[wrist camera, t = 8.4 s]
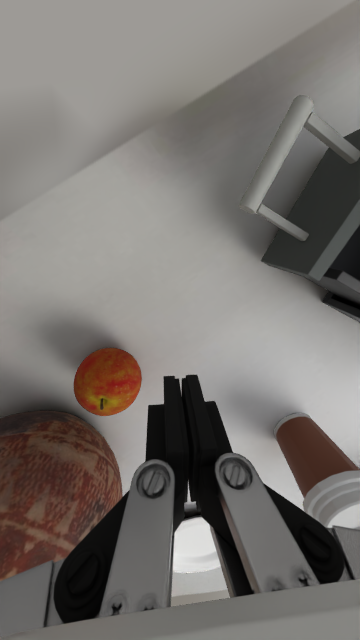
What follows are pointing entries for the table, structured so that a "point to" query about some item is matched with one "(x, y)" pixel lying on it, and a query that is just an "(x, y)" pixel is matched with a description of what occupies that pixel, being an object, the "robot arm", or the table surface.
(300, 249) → the grey drawer
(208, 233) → the table surface
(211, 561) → the plate
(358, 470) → the coffee cup
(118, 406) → the fruit
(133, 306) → the table surface
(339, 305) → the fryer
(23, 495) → the jug
